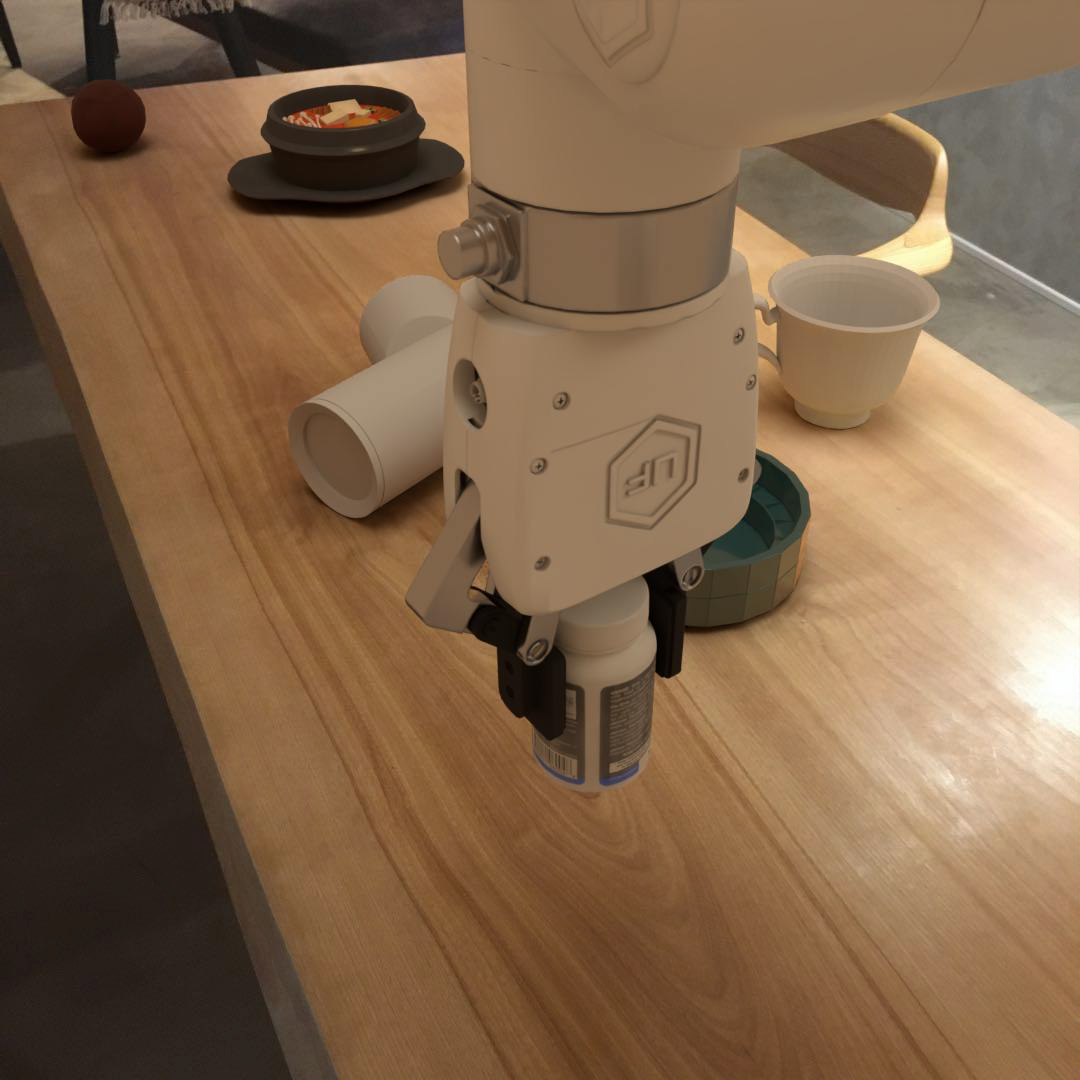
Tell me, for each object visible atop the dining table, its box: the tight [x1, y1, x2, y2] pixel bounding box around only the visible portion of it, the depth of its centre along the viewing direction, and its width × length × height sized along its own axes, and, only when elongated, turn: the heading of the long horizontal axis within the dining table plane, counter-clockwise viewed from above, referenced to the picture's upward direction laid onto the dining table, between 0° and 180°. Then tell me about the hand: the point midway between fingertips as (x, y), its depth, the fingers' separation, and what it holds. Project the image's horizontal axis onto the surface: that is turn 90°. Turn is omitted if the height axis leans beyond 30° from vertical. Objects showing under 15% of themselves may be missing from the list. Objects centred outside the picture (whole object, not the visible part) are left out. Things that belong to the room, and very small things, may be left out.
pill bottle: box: [531, 575, 657, 793], centre depth 45 cm, size 5×5×8 cm
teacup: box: [753, 254, 941, 430], centre depth 87 cm, size 12×15×10 cm
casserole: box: [227, 84, 466, 205], centre depth 123 cm, size 25×19×8 cm
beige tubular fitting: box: [287, 274, 458, 519], centre depth 83 cm, size 18×10×20 cm
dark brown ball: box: [70, 78, 147, 153], centre depth 132 cm, size 8×9×8 cm
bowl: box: [685, 448, 812, 628], centre depth 74 cm, size 14×14×5 cm
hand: (592, 682), depth 45 cm, fingers closed on pill bottle, 4 cm apart
